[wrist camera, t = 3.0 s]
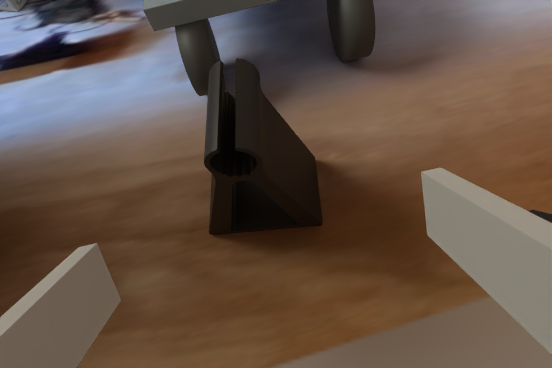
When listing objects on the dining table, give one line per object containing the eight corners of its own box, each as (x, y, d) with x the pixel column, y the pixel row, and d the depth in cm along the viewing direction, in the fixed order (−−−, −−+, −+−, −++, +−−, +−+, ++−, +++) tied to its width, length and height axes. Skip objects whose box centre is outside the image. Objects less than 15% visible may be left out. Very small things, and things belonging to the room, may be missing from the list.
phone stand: (315, 159, 29) (309, 48, 19) (322, 225, 26) (320, 139, 16) (213, 170, 30) (152, 69, 19) (210, 235, 27) (136, 158, 17)
